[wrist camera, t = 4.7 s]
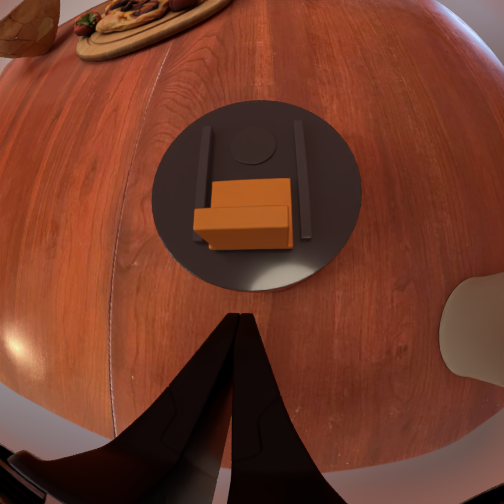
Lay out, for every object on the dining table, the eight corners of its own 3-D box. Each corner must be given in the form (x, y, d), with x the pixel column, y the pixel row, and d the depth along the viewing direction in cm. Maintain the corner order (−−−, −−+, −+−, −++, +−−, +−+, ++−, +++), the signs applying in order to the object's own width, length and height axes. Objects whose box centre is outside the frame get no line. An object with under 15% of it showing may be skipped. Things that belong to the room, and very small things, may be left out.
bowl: (49, 38, 42) (20, 1, 22) (93, 17, 39) (63, -31, 19) (9, 89, 38) (-29, 52, 18) (46, 69, 35) (1, 19, 15)
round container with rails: (336, 297, 20) (376, 287, 11) (196, 297, 21) (136, 288, 12) (327, 168, 22) (346, 93, 13) (203, 173, 23) (163, 105, 14)
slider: (292, 248, 12) (295, 227, 9) (211, 250, 12) (186, 230, 9) (290, 181, 12) (291, 143, 9) (214, 184, 13) (194, 149, 10)
